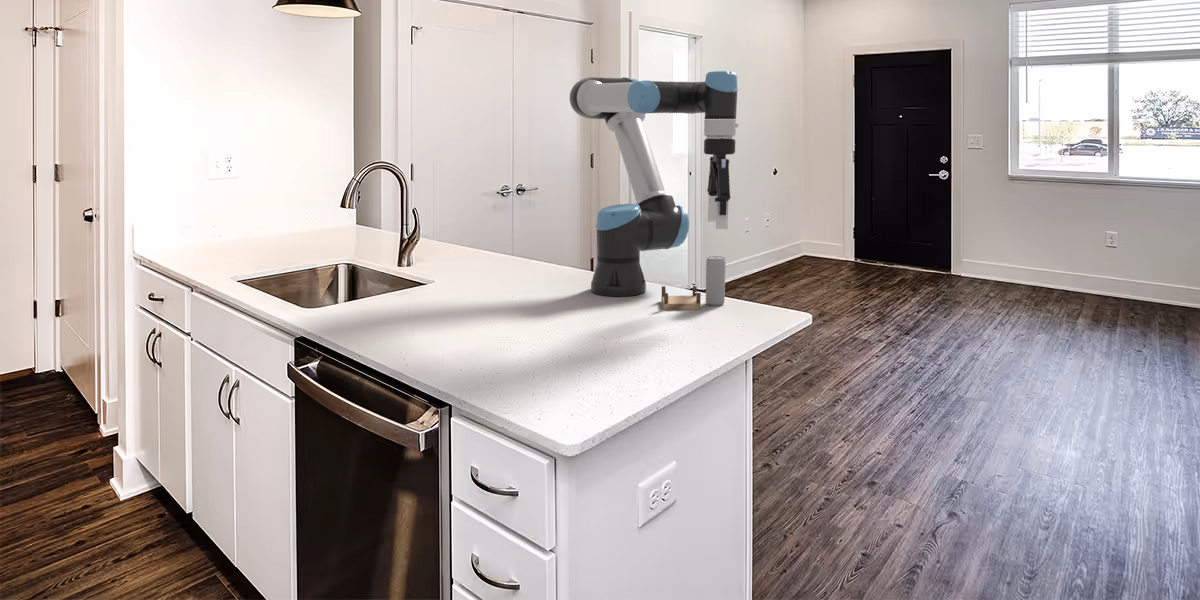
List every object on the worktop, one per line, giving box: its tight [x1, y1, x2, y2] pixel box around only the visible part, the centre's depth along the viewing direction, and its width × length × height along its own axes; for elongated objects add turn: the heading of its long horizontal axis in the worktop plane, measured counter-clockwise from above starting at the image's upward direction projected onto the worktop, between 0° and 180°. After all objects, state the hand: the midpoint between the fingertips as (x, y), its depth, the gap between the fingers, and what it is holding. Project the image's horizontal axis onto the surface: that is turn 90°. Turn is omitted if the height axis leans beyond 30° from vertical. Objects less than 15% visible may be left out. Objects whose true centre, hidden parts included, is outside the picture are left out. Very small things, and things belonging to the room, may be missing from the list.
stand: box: [660, 285, 702, 311], centre depth 193 cm, size 9×9×4 cm
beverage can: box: [705, 255, 727, 307], centre depth 193 cm, size 5×5×12 cm
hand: (717, 225), depth 190 cm, fingers open, 13 cm apart
